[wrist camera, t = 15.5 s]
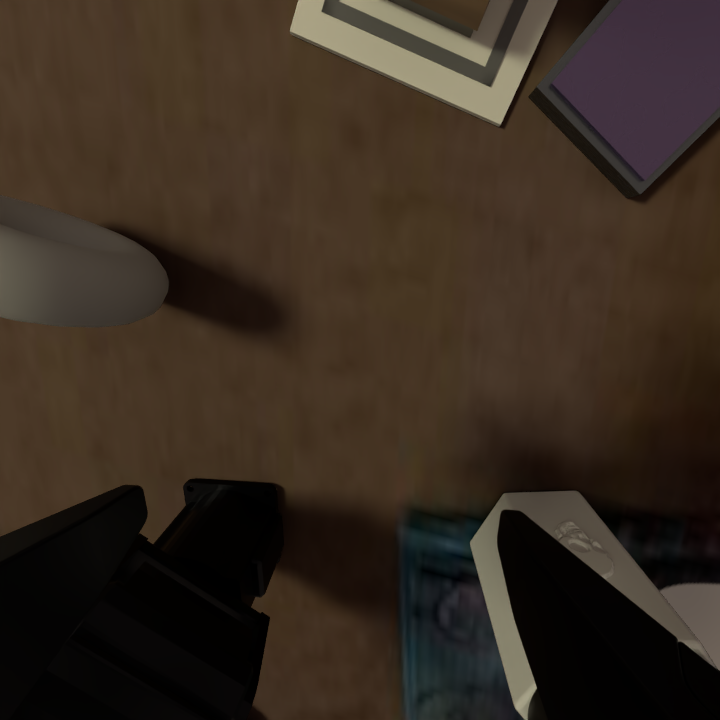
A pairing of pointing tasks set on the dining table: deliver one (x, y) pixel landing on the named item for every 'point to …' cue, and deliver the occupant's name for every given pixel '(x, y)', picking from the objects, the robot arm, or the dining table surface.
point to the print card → (432, 48)
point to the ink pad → (637, 87)
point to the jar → (590, 544)
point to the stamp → (449, 12)
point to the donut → (73, 270)
